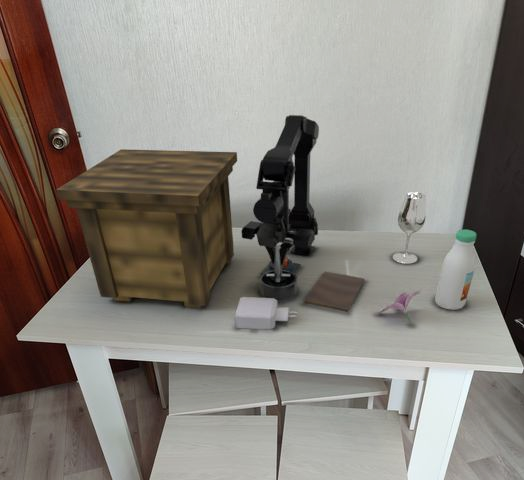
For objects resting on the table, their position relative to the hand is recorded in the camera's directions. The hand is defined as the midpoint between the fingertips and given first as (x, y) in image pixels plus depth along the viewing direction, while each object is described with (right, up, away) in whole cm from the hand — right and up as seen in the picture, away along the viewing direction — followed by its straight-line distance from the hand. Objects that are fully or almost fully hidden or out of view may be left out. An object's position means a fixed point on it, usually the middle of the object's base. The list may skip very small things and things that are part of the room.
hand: (278, 263), depth 128 cm
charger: (-3, -16, -6) cm, 17 cm away
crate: (-31, -3, +13) cm, 34 cm away
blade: (0, -4, +3) cm, 5 cm away
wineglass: (+41, +5, +20) cm, 45 cm away
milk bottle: (+46, -11, -2) cm, 47 cm away
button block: (+1, 0, +15) cm, 15 cm away
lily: (+31, -15, -6) cm, 35 cm away
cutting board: (+16, -7, +4) cm, 18 cm away
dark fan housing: (0, -7, +5) cm, 9 cm away
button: (+1, +2, +14) cm, 14 cm away
